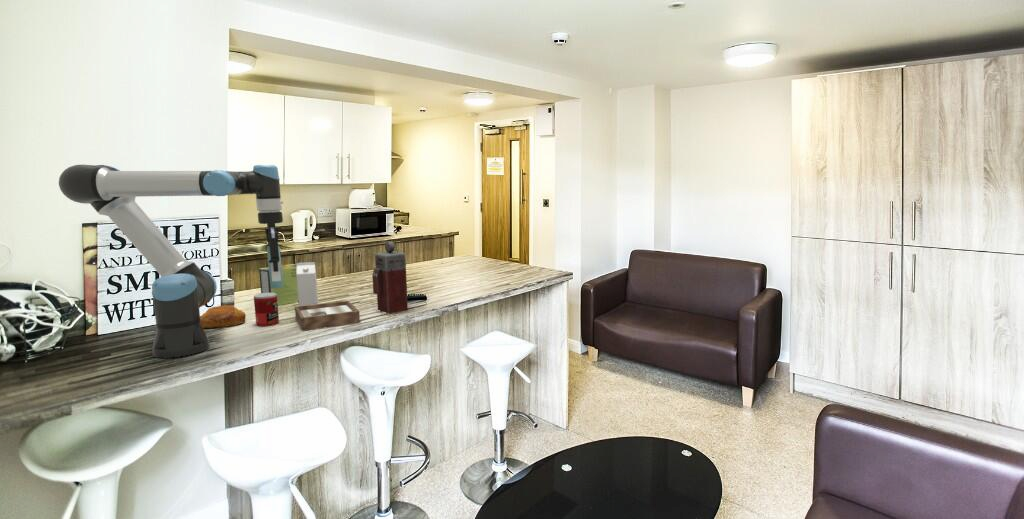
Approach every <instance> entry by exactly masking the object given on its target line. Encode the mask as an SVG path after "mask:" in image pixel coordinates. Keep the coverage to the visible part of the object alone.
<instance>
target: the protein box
mask: <svg viewBox="0 0 1024 519" xmlns="http://www.w3.org/2000/svg"><path fill="white" fill-rule="evenodd" d="M281 268H282V279H283V287H281V288H271V287H270V277H269V266H268V267H261V268H258V272H259V284H260V293H276V294H277V302H278V306H283V304H284V305H288V303H289V304H294V303H293V302H295V303H299V302H298V287H297V274H296V273H297V264H294V263H291V264H281Z"/></svg>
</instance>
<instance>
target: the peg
mask: <svg viewBox="0 0 1024 519" xmlns="http://www.w3.org/2000/svg"><path fill="white" fill-rule="evenodd" d="M278 250H279V258H280V259H279V263H280V274H281V281H273V282H272V273H271V263H269V261H270V260H271V256H270V247H268V246H266V252H267V255H266V256H267V262H268V264H267V265H268V267H269V277H270V287H271V288H281V287H283V279H282V268H281V266H282V258H281V257H282V256H281V247H280V246H279V245H278Z"/></svg>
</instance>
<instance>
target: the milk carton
mask: <svg viewBox="0 0 1024 519" xmlns="http://www.w3.org/2000/svg"><path fill="white" fill-rule="evenodd" d="M296 265H297V273H296V274H297V287H298V301H299V302H298V306H306V305H314V304H319V294H318V293H319V292H318V279H317V269H316V262H315V261H310V262H308V261H307V262H296Z"/></svg>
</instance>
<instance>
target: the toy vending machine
mask: <svg viewBox="0 0 1024 519" xmlns="http://www.w3.org/2000/svg"><path fill="white" fill-rule="evenodd" d="M395 248H396V247H395V242H394V241H385V243H384V250H385V252H376V253H375V254H374V260H375V261H374V262H375V267H374V268H373V271H372V292H373V294H374V295H376V300H377V304H376V305H377V310H378V311H379V310H380V312H382V311H383V312H382V313H385V312H386V313H385V314H388V313H390V314H394V313H393V312H395V313H398V311H400V312H404V311H403V310H405V311H408V310H409V306H408V286H407V285H408V284H407V283H408V282H407V263H406V262H407V261H406V253H405V252H400V251H395Z"/></svg>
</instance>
